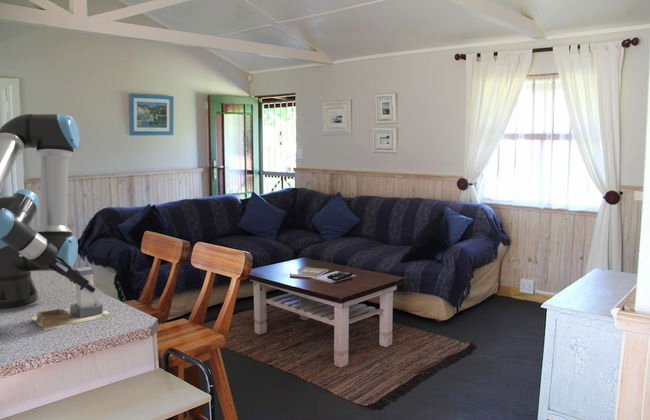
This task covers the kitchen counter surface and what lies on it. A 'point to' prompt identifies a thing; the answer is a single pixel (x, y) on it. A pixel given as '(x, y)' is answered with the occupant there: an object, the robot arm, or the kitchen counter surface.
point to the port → (86, 310)
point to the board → (71, 320)
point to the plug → (82, 296)
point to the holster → (52, 316)
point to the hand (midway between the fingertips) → (97, 294)
